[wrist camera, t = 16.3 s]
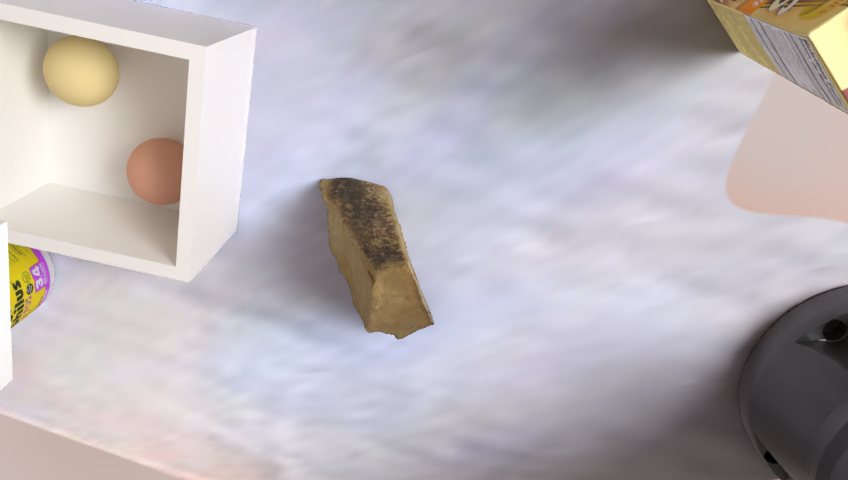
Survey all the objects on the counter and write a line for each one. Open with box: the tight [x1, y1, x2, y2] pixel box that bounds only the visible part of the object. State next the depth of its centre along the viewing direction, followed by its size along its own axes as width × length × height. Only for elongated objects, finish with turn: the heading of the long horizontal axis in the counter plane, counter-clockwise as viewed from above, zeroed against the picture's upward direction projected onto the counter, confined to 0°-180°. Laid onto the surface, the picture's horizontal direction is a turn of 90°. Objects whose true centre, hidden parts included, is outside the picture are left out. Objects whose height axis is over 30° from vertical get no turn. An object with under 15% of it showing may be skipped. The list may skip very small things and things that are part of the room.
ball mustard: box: [43, 35, 120, 107], centre depth 43 cm, size 4×4×4 cm
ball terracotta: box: [126, 138, 184, 205], centre depth 45 cm, size 4×4×4 cm
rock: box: [319, 178, 434, 339], centre depth 46 cm, size 11×9×10 cm
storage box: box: [0, 0, 257, 282], centre depth 43 cm, size 13×13×8 cm
